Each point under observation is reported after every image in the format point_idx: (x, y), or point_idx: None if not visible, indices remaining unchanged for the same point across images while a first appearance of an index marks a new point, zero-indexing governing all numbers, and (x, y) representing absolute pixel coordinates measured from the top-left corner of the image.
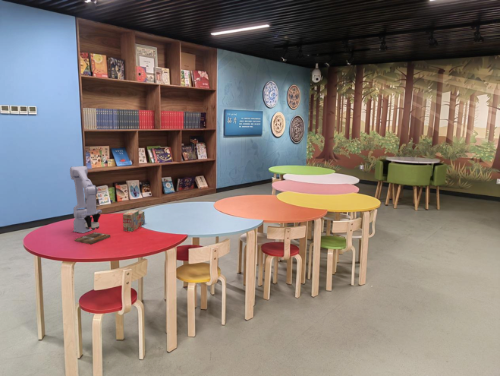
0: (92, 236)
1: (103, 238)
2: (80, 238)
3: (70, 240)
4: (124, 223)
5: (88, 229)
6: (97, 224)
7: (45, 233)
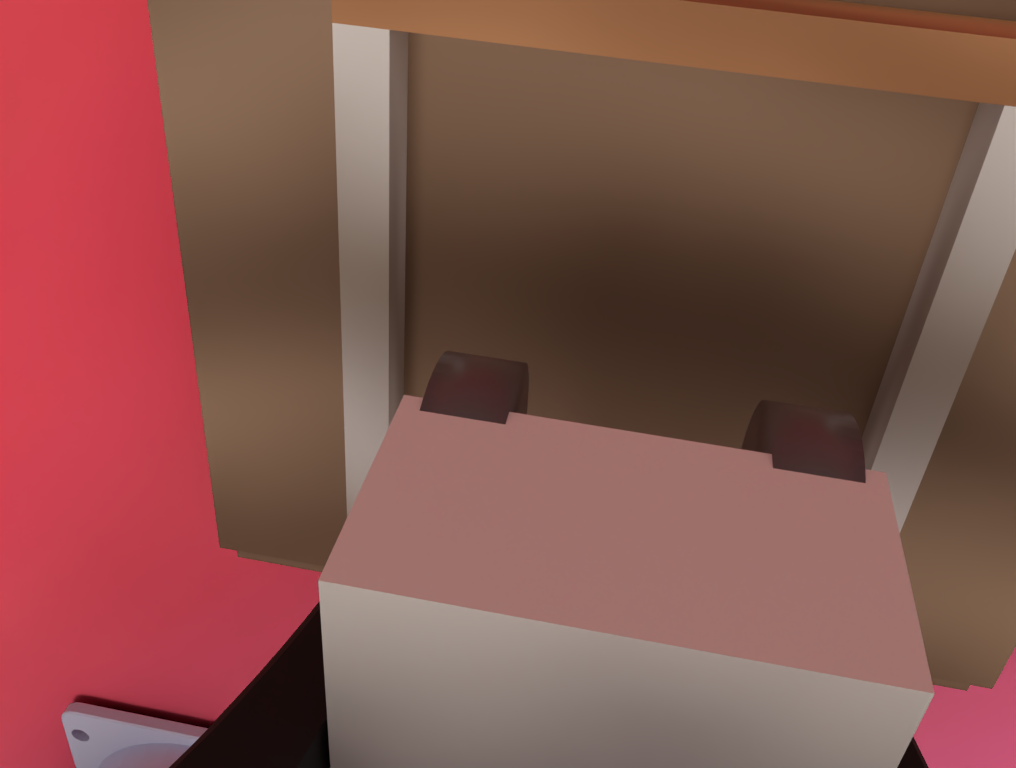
0: (609, 393)
1: None
2: (916, 599)
3: (921, 750)
4: None
5: (144, 763)
6: (522, 528)
7: None
